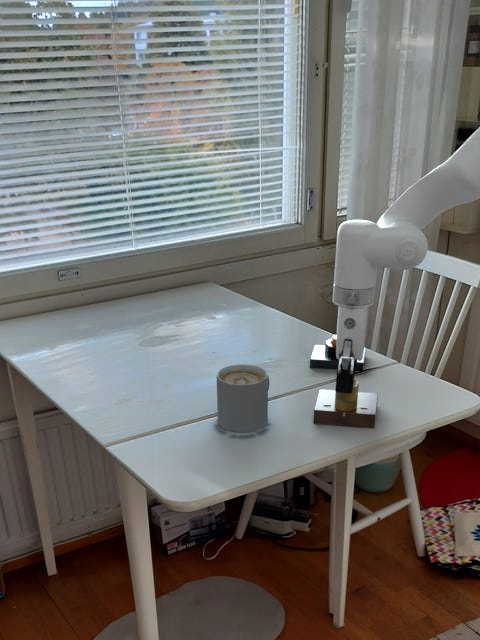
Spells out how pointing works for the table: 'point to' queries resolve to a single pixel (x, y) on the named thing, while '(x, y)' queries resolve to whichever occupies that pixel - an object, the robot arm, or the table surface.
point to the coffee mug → (242, 398)
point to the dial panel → (355, 418)
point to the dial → (347, 399)
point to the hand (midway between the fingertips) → (345, 381)
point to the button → (334, 340)
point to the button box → (329, 357)
